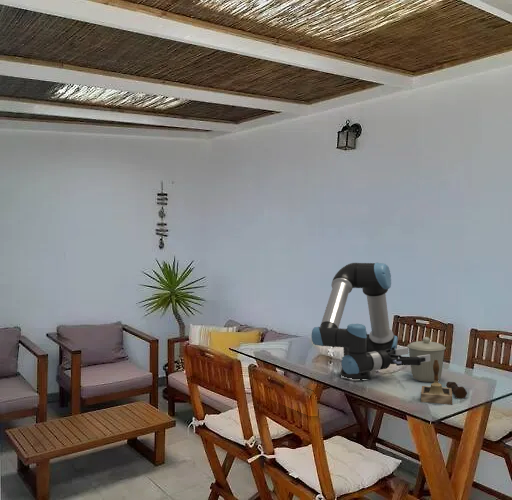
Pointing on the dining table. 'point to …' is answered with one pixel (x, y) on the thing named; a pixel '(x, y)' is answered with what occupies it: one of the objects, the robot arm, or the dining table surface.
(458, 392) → the bolt
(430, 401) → the square tray
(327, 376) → the dining table surface
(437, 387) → the hand bell
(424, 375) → the canister
